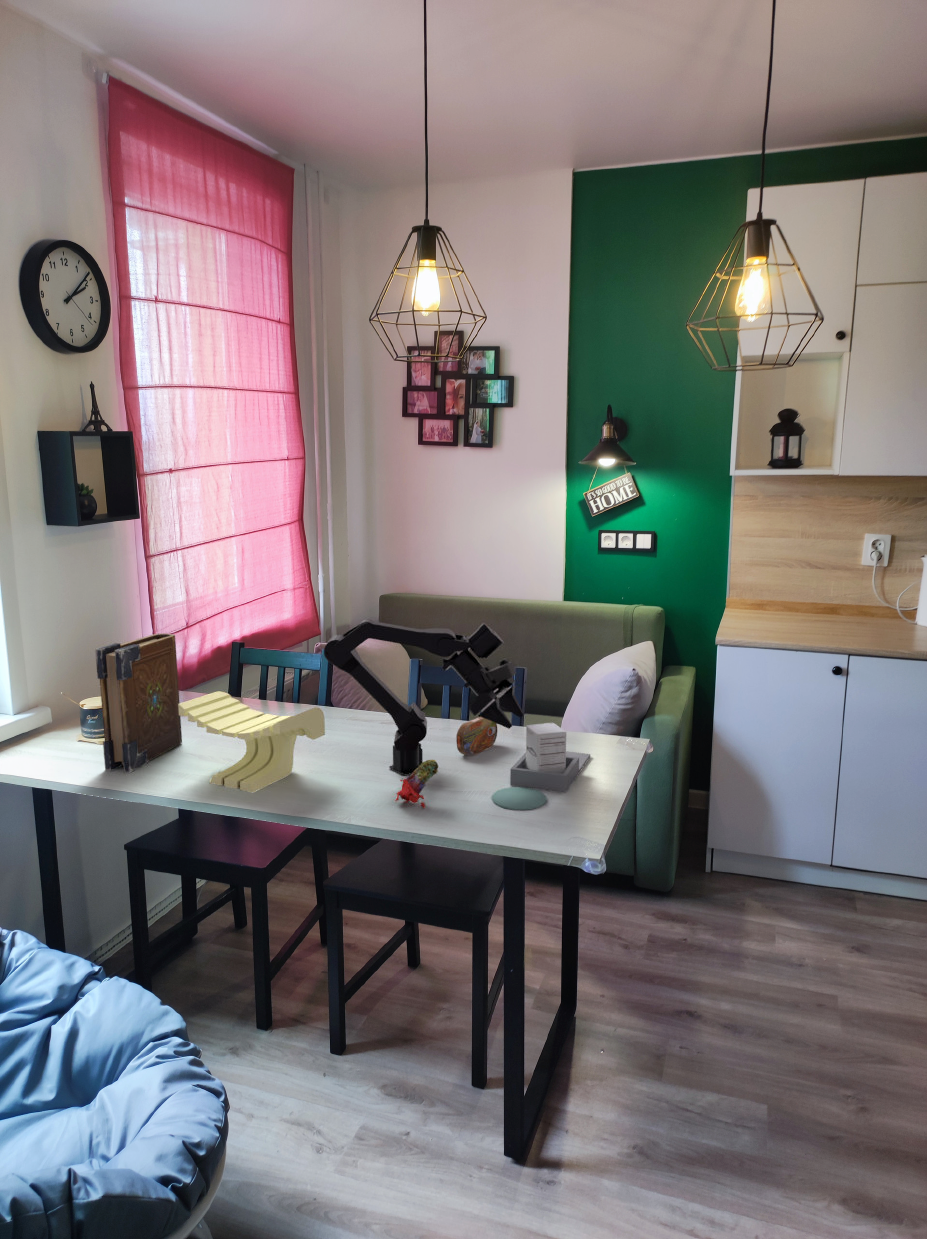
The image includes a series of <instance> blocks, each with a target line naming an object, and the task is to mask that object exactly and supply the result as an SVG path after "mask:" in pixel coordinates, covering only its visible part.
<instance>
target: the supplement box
mask: <svg viewBox="0 0 927 1239" xmlns="http://www.w3.org/2000/svg"><path fill="white" fill-rule="evenodd" d="M525 726H526V732H525V736H526V737H525V738H526V739H525V742H526V744H525V753H526V769H528V770H536V771H544V772H552V773H560V774H563V773H564V771H565V768H566V751H567V731H566V730H565V729H563V728H562V727H561V726H560V725H559V726H558V725H557V724H556V723H554V722H544V723H536V724H527V725H525Z"/></svg>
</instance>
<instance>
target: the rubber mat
mask: <svg viewBox="0 0 927 1239" xmlns="http://www.w3.org/2000/svg"><path fill="white" fill-rule="evenodd" d="M491 800H492V801H491V802H493V804H494V805H496V806H498V807H500V808H503V809H507V810H514V811H530V810H534V809H539V808H540V807H543V806H545V805H546V803H547V800H548V798H547V795H546V794H545V793H544V792H542V791H540V790H539V789H533V788H526V787H518V786H512V787H511V786H510V787H506V788H501V789H498V790H497V791H496V790H495V792H493V794H492V795H491Z"/></svg>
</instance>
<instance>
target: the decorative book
mask: <svg viewBox="0 0 927 1239" xmlns="http://www.w3.org/2000/svg"><path fill="white" fill-rule="evenodd" d="M176 641H177V640H176V635H175V634H173V633H154V634H150V635H146V636H143V637H139V638H136V639H134V640H130V641H127V642H123V643H118V642H117V643H116V642H113V643H111V644H107V645H103V646H101V647H98V648H95V649H94V650H95V663H96V676H97V679H98V680H99V685H100V687H99V688H100V697H101V698H100V702H101V712H102V722H103V724H102V725H103V736H104V741H102V747H103V758H104V760H103V761H104V770H105V771H108V772H110V771H111V772H112V771H114V770H116V769H118V768H120V767H122V766H123V772H124V773H128V774H131V773H132V772H134V771H136V770H138V769H141V768H142V767H144V766H146V765H148V764H149V762H150V761H151V760H153V759H155V758H156V757H158V756H160V755H162V754H165V753H166V752H167V751H170V750H172V749H174V748H175V747H177V746H179V745H181V744H182V743H183V736H182V719H181V716H179V707H178V704H179V703H181V702H180V690H179V689H180V688H179V674H178V673H179V672H178V659H177V646H176V644H177V642H176Z"/></svg>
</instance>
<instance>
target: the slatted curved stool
mask: <svg viewBox="0 0 927 1239" xmlns="http://www.w3.org/2000/svg"><path fill="white" fill-rule="evenodd" d="M178 707H179V716H180V717H187V722H192V723H195V722H196V727H198V728H205V729H206V730H205V731H206V733H207V734H213V735H221V736H225V737H229V738H237V739H239V740H243V741H245V745H246V752H245V754H244V755H243V757H242V758H240V760H238V761H237V762H236V763H234V764H233V765H231V766H229V767H228V768H226V769H224V770H221V771H219V772H217V773H215V774H213V775H211V779H210V781H208V782H209V783H210V784H214V785H218V786H224V787H227V788H231V789H236V790H237V789H239V790H240V791H243V790H244V792H248V791H249V792H248V793H252V792H253V793H255V792H257V791H259V790H261V789H264V788H265V787H267V786H269V785H271V784H273V782H274V783H276V782H278V781H279V779H280V780H282V779H284V778H286V777H288V776H289V775H291V773H292V771H293V768H294V767H293V766H294V750H295V745H296V741H297V738H298V737H304V736H306V737H307V738H308V739H311V740H312V741H314V740H317V739H319V738H321V737H323V736H325V735H326V726H325V724H326V722H325V714H324V712H323V710H322V709H321V708H320V707H317V706H315V707H312V708H310V709H307V710H305V711H302V712H301V713H297V714H295V715H281V716H280V715H274V714H270V713H264V712H262V711H258V710H255V709H252V708H250V706H249V705H247V704H245V703H242V702H241V701H240V700H238V699H236V698H234V697H232V695H231V694H229V693H227V692H225V691H220V690H219V691H214V692H211V693H208V694H205V695H201V696H198V697H195V698H193V699H189V700H186V701H183V702H180V703H179V704H178ZM287 775H288V776H287ZM283 777H284V778H283ZM281 778H282V779H281ZM275 781H276V782H275ZM258 789H259V790H258ZM256 790H257V791H256Z"/></svg>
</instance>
